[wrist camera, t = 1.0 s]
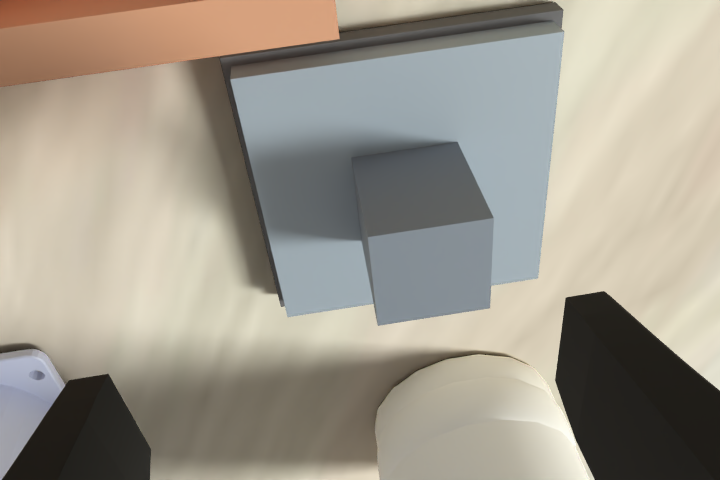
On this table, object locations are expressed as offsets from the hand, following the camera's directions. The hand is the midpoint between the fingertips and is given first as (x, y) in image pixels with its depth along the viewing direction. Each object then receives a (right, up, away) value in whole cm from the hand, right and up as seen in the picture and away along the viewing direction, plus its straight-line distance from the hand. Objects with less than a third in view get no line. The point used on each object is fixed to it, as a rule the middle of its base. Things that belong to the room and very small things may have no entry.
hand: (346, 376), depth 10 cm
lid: (+1, +4, +9) cm, 10 cm away
